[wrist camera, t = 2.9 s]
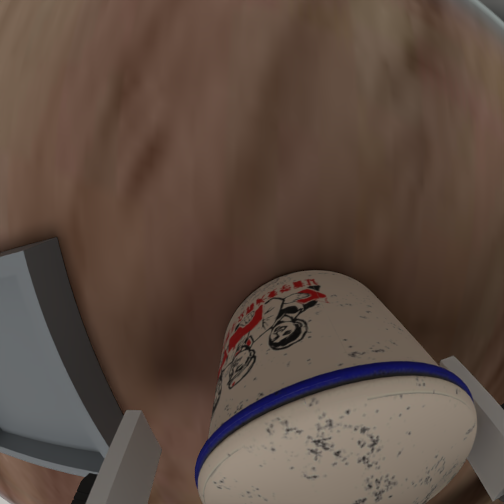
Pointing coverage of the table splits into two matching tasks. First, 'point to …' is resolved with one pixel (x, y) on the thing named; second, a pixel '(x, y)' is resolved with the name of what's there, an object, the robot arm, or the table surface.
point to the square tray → (49, 368)
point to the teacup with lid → (330, 403)
